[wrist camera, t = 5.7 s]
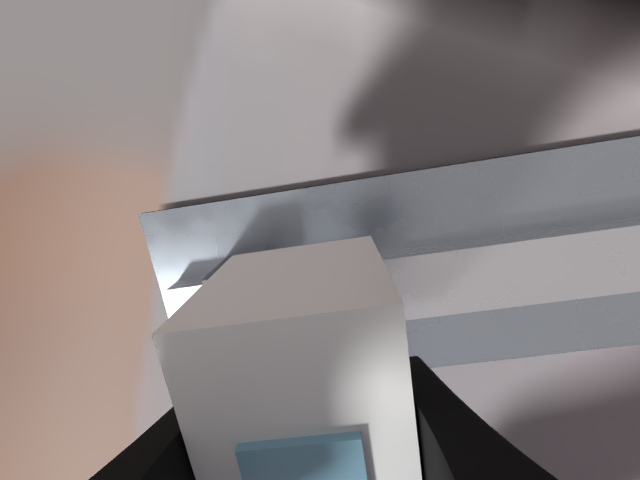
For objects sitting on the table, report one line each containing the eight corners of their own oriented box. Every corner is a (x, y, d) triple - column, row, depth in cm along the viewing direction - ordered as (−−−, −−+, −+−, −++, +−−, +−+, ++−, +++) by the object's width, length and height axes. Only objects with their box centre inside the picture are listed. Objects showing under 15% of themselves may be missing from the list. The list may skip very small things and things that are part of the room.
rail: (699, 333, 16) (787, 376, 13) (193, 391, 18) (163, 440, 15) (725, 121, 14) (842, 112, 11) (141, 213, 16) (94, 227, 13)
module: (393, 420, 12) (436, 607, 7) (273, 432, 12) (232, 620, 7) (370, 235, 10) (405, 308, 5) (232, 255, 11) (144, 341, 6)
